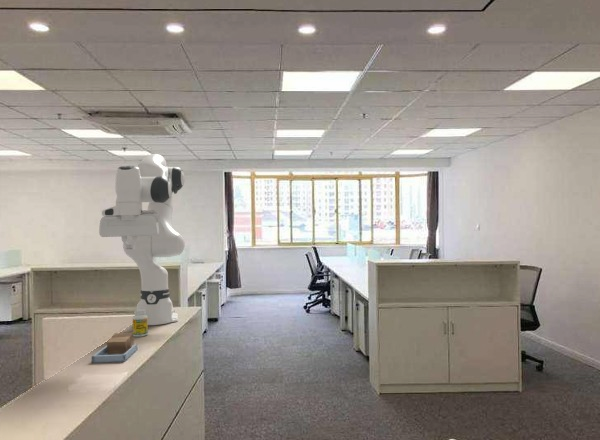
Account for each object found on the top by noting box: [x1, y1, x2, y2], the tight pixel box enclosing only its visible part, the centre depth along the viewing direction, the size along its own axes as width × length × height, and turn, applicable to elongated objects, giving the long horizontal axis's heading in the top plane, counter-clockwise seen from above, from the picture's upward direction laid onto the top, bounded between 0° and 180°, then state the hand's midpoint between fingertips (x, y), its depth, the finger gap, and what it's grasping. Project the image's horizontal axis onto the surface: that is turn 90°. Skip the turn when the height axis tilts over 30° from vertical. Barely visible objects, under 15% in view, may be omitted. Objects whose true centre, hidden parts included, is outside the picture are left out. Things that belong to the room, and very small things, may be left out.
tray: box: [91, 343, 139, 364], centre depth 146 cm, size 13×10×2 cm
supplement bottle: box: [132, 309, 149, 338], centre depth 174 cm, size 5×5×10 cm
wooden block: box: [106, 332, 135, 354], centre depth 151 cm, size 4×6×8 cm
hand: (130, 249), depth 163 cm, fingers closed
